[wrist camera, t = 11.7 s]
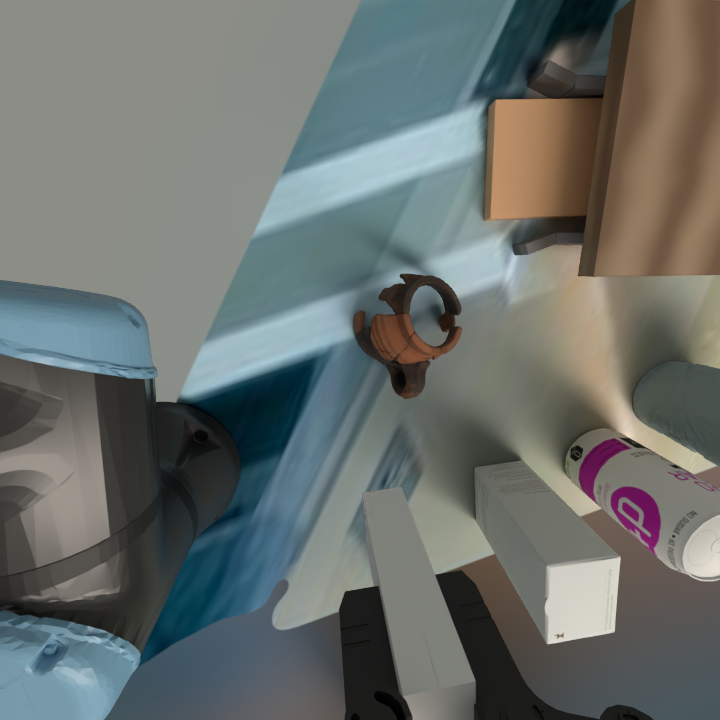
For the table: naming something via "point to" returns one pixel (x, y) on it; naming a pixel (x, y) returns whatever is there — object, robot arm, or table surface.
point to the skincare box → (547, 553)
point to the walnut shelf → (650, 144)
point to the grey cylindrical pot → (682, 405)
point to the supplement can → (651, 500)
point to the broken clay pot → (407, 334)
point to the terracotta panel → (540, 157)
